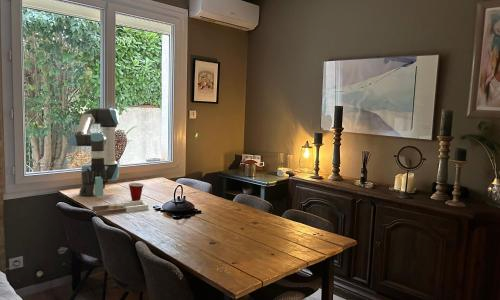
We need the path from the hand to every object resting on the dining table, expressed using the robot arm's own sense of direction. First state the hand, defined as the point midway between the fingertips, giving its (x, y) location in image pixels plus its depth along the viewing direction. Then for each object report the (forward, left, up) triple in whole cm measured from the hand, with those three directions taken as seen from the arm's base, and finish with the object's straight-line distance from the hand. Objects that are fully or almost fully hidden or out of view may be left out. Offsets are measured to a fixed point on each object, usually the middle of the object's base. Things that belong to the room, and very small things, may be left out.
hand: (98, 193), depth 242 cm
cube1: (-1, +9, -12) cm, 15 cm away
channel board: (0, +7, -12) cm, 14 cm away
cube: (+1, +13, -12) cm, 18 cm away
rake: (0, 0, -1) cm, 1 cm away
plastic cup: (-20, +30, -12) cm, 38 cm away
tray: (0, +23, -12) cm, 26 cm away
